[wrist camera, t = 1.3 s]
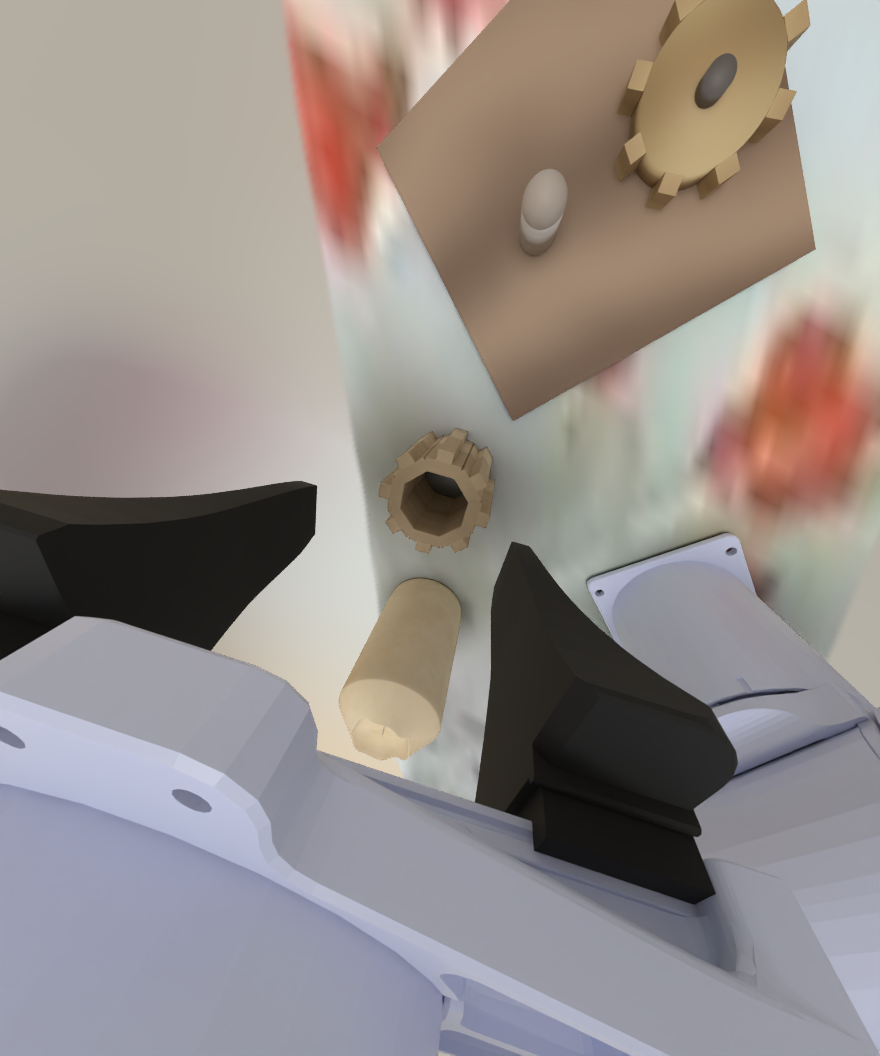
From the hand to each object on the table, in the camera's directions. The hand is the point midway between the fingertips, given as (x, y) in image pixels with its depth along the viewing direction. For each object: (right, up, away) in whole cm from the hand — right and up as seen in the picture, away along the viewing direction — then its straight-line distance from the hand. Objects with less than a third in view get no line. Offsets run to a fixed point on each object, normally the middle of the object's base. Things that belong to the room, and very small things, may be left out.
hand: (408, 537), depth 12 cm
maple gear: (+2, +4, +8) cm, 9 cm away
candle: (0, -6, +13) cm, 14 cm away
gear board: (+7, +13, +2) cm, 15 cm away
